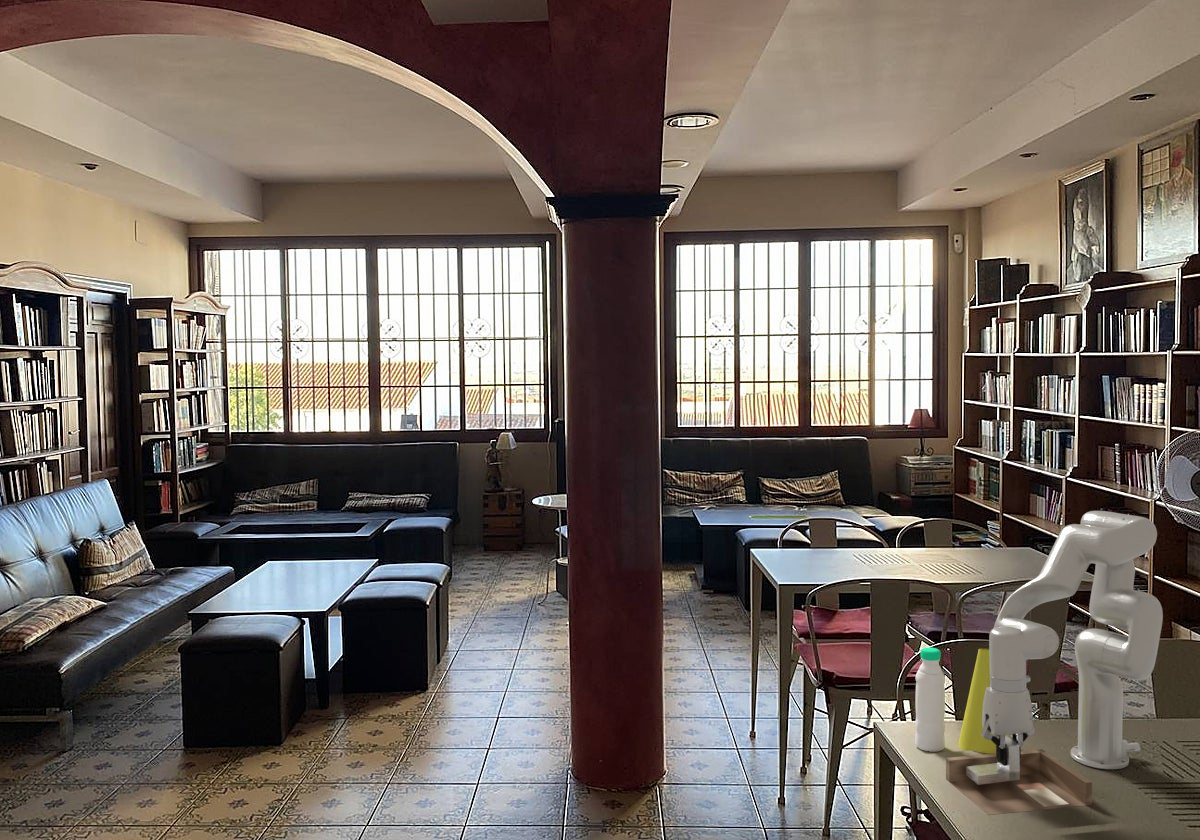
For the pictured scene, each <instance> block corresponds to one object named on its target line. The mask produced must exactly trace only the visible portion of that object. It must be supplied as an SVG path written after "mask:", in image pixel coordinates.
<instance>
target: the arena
mask: <svg viewBox="0 0 1200 840" xmlns="http://www.w3.org/2000/svg"><path fill="white" fill-rule="evenodd" d="M993 763H997V758H996V753H995V754H991V753H984V754H975V755H964V756H962V755H961V756H952V757H945V780H946V781H947V782H949V783H950V784H951V785H953V787H954V788H955V789H957V790H958V791H959V792H960V793H962V794H963V795H964V796H965V797H967V799H969V800H970V801H971V802H973V803H974V804H975V805H976V806H977V807H978V808H980V810H982V811H983V812H984V813H986V814H987V815H988V816H991V815H992V816H994V815H1003V814H1004V815H1005V814H1015V813H1021V812H1023V813H1024V812H1033V811H1044V810H1045V811H1046V810H1054V809H1056V810H1057V809H1065V808H1066V809H1067V808H1073V807H1083V806H1085V807H1086V806H1092V803H1093V802H1092V800H1093V797H1092V795H1093V781H1092V780H1089V779H1088V778H1087V777H1085V776H1084V775H1082V774H1080V773H1078V771H1076V770H1075V769H1073V768H1071V767H1069V766H1068V765H1066V764H1065V763H1064V762H1062V761H1060V760H1059V759H1057V758H1056V757H1054V756H1053V755H1051V754H1049V752H1047V751H1045V750H1044V749H1033V750H1031V749H1030V750H1021V758H1020V780H1013V781H1005V782H997V783H989V784H980V785H978V784H977V783H975V782H974V781H973V780H972V779H971V778H969V777H968V776H967V775H966V767H968V766H976V765H984V764H993Z"/></svg>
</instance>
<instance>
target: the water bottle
mask: <svg viewBox="0 0 1200 840" xmlns="http://www.w3.org/2000/svg"><path fill="white" fill-rule="evenodd" d="M919 655H920V659H921V661H922V663H921V664H920V666H919V667H918V669H917V671H916V674H915V681H916V682H915V723H914V724H915V727H914V728H915V736H914V744H915V746H916V747H917V748H918V749H919V750H921V751H925V752H928V751H929V752H930V753H937V752H938V753H939V752H940V751H943V750H944V749H945V746H946V738H945V730H946V724H945V723H946V722H945V714H946V688H945V685H946V676H945V674H944V671H943V670H942V667H941V666H940V664H939V663H940V660H941V655H942V654H941V651H940V649H938V648H936V647H930V646H929V647H923V648H921V649H920V653H919ZM929 752H928V753H929Z"/></svg>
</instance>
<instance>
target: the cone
mask: <svg viewBox="0 0 1200 840" xmlns="http://www.w3.org/2000/svg"><path fill="white" fill-rule="evenodd" d="M970 683H971V684H970V688H969V692H968V698H967V702H966V707H965V711H964V717H963V720H962V723H961V724H962V725H961V730H960V734H959V739H958V743H957V745H958V744H959V746H958V748H959V747H960V748H961V749H962V750H964V751H963V752H969V751H973V752H976V753H981V754H996V745H995V744H994V743H993V742H992V741H990V740H987V739H985V738H983V737H982V736H981V733H982V731H983V726H982V711H983V701H984V695H985V691H986V688H987V687H990V653H989V648H978V652H977V656H976V661H975V666H974V670H973V674H972V678H971V682H970ZM990 734H992V732H991V733H990ZM992 735H993V734H992ZM1005 736H1007V737H1009V735H1005ZM960 748H959V749H960ZM961 749H960V750H961ZM962 750H961V751H962Z"/></svg>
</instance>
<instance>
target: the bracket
mask: <svg viewBox="0 0 1200 840" xmlns="http://www.w3.org/2000/svg"><path fill="white" fill-rule="evenodd" d="M1005 748H1006V749H1007V766H1004V765H1002V764H1001V763H1000V762H998V760H997V763H993V764H984V765H976V766H968V767H966V775H967V776H968V777H969V778H971V779H972V780H973V781H974V782H975V783H977V784H978V785H980V784H989V783H997V782H1005V781H1013V780H1020V756H1019V744H1017V743H1016V742H1014V741H1013V740H1011V738H1010V737H1009V736H1008V737H1007V736H1005Z"/></svg>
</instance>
